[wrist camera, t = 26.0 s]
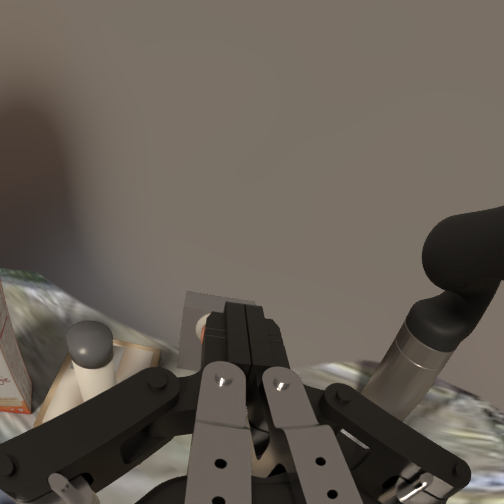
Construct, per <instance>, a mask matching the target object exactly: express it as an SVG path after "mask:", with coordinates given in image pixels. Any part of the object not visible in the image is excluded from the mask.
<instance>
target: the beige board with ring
mask: <svg viewBox="0 0 504 504" xmlns="http://www.w3.org/2000/svg"><path fill="white" fill-rule="evenodd" d="M113 347H114V365H115V373H116V380H117V384H118V383H120V382H122V381H124V380H125V379H127V378H129V377H131V376H132V375H134V374H136V373H138V372H139V371H141V370H143V369H145V368H149V367H158V364H159V359H160V351H161V349H156V348H151V347H146V346H141V345H137V344H132V343H127V342H123V341H119V340H114V339H113ZM82 403H84V401H83V398H82V395H81V392H80V388H79V385H78V381H77V378H76V374H75V370H74V366H73V363H72V359H71V357H70V354H69V353H68V355H67V357H66V359H65V360H64V362H63V364H62V366H61V368H60V370H59V372H58V374H57V376H56V378H55V380H54V382H53V384H52V386H51V388H50V390H49V392H48V394H47V396H46V398H45V400H44V403H43V405H42V407H41V409H40V411H39V414H38V416H37V418H36V421H35V423H34V425H33V426H34V428H35V427H37V426H39V425H41V424H43V423H45V422H47V421H49V420H51V419H53V418H55V417H57V416H59V415H61V414H63V413H65V412H67V411H69V410H70V409H72V408H74V407H76V406H78V405H80V404H82ZM139 465H140V464H139Z"/></svg>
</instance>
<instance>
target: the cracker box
mask: <svg viewBox="0 0 504 504" xmlns="http://www.w3.org/2000/svg"><path fill="white" fill-rule="evenodd" d="M31 401H32V381H31V379H30V376H29V374H28V371H27V369H26V366H25V363H24V361H23V358H22V355H21V352H20V349H19V347H18V343H17V340H16V337H15V334H14V331H13V328H12V324H11V321H10V317H9V313H8V309H7V305H6V301H5V297H4V293H3V288H2V284H1V279H0V411H4V412H13V413H23V414H31Z"/></svg>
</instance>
